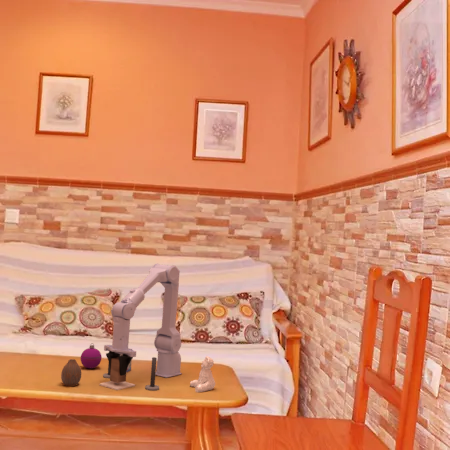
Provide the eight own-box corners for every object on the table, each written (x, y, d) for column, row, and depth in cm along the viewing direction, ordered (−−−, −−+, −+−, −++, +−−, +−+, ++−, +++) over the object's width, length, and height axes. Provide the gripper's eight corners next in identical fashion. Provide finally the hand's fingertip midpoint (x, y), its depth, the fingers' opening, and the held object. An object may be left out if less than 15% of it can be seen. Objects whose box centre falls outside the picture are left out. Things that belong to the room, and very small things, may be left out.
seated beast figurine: (188, 385, 209) (190, 353, 209) (210, 385, 212) (212, 353, 212) (196, 392, 200) (198, 358, 200) (218, 392, 203) (221, 358, 203)
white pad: (117, 380, 209) (117, 379, 209) (135, 385, 203) (135, 384, 203) (99, 384, 201) (99, 383, 201) (116, 390, 196) (116, 388, 196)
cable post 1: (110, 374, 218) (112, 346, 218) (119, 377, 215) (121, 348, 215) (100, 376, 213) (102, 347, 214) (109, 379, 211) (111, 349, 211)
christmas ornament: (79, 370, 221) (81, 344, 221) (79, 365, 229) (81, 341, 229) (100, 370, 223) (102, 345, 223) (100, 366, 231) (102, 341, 231)
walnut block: (118, 379, 205) (119, 357, 206) (125, 381, 203) (127, 358, 203) (109, 380, 202) (111, 358, 202) (117, 382, 200) (119, 360, 200)
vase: (62, 387, 194) (64, 362, 195) (58, 382, 200) (60, 358, 201) (82, 386, 198) (84, 361, 198) (78, 381, 204) (79, 357, 204)
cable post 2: (151, 386, 205) (154, 355, 205) (162, 389, 202) (164, 358, 202) (142, 388, 201) (144, 357, 201) (152, 391, 198) (154, 360, 198)
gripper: (98, 333, 204) (95, 371, 203) (127, 340, 195) (124, 379, 195) (113, 332, 210) (110, 368, 209) (141, 338, 201) (138, 376, 201)
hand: (118, 373), depth 202 cm, fingers closed on walnut block, 4 cm apart
